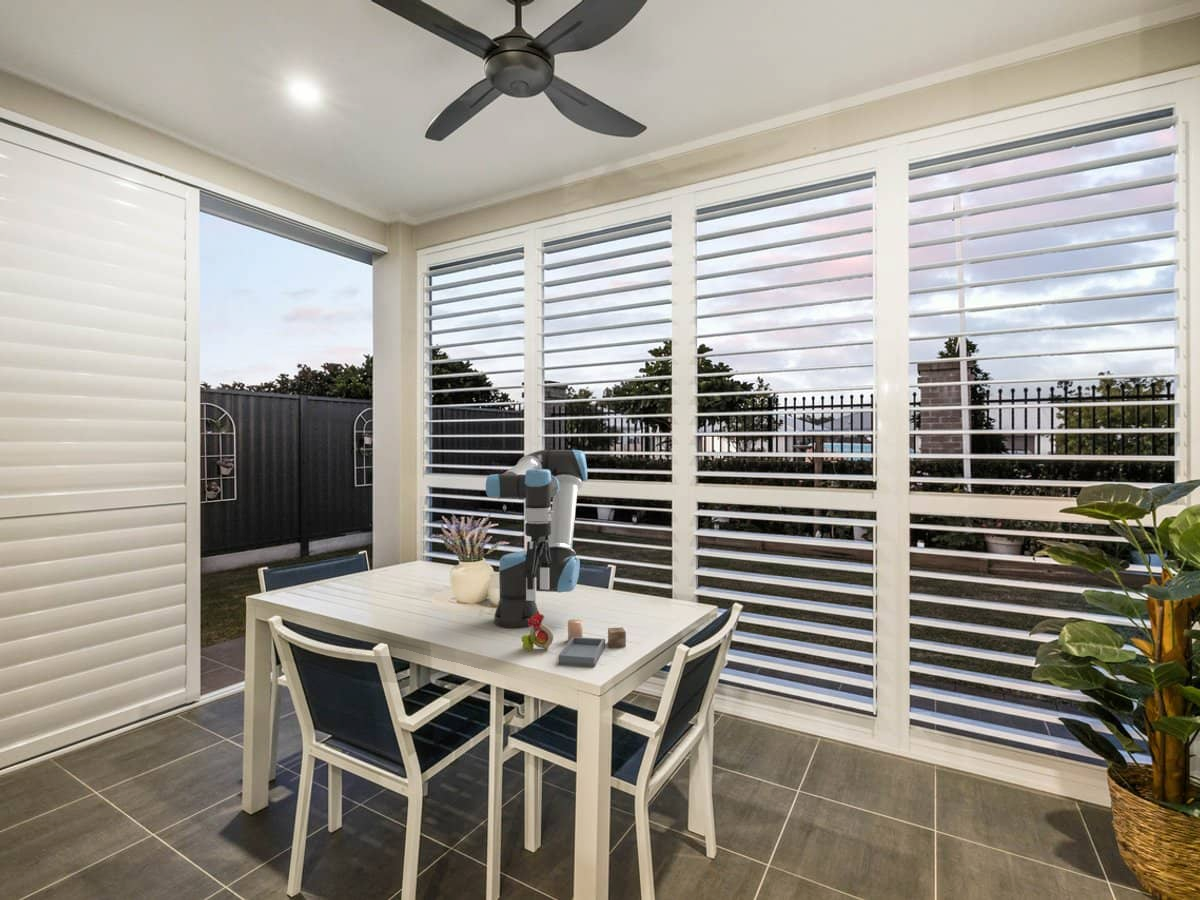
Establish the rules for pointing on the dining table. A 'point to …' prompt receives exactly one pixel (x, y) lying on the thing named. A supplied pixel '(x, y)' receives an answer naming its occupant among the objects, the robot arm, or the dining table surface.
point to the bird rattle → (543, 635)
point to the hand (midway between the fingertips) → (538, 594)
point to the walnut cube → (616, 637)
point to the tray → (582, 652)
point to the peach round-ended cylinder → (574, 628)
